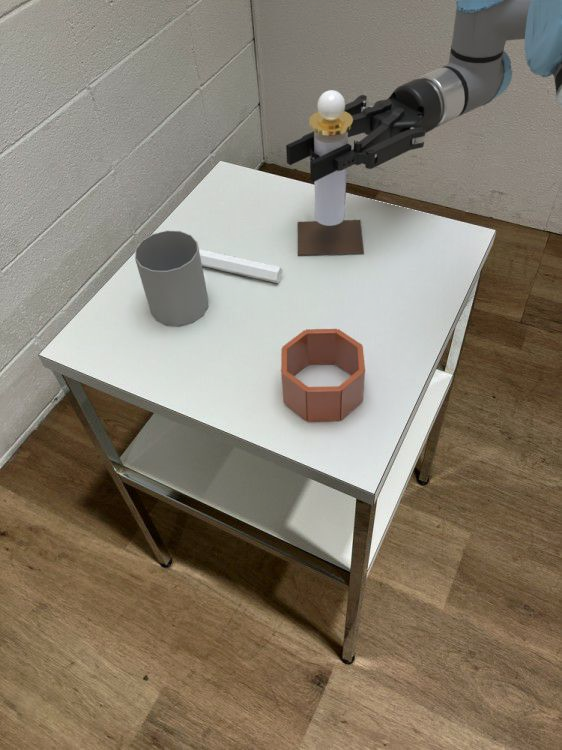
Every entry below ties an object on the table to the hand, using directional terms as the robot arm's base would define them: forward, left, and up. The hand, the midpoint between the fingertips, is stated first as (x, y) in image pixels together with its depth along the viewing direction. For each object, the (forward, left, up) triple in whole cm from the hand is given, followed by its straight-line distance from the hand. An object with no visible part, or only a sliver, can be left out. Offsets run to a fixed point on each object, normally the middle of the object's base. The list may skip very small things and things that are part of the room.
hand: (300, 163), depth 85 cm
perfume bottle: (-4, -3, -12) cm, 13 cm away
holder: (-2, +27, -15) cm, 31 cm away
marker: (+11, +3, -15) cm, 19 cm away
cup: (+18, +11, -15) cm, 26 cm away
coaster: (-4, -3, -15) cm, 16 cm away
